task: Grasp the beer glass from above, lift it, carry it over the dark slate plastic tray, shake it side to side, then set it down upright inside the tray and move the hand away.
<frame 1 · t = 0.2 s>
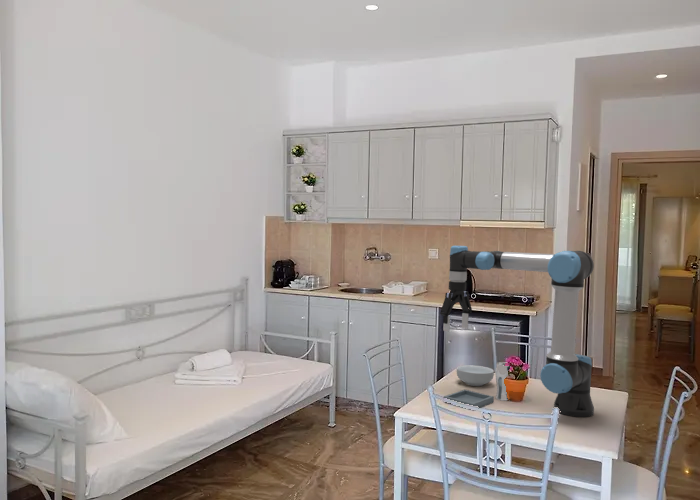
hand: (455, 329, 266), 27 cm above the table, tool pointing down, fingers open, 13 cm apart
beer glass: (502, 399, 259), on the table
tray: (468, 402, 252), on the table
cereal bowl: (474, 384, 282), on the table
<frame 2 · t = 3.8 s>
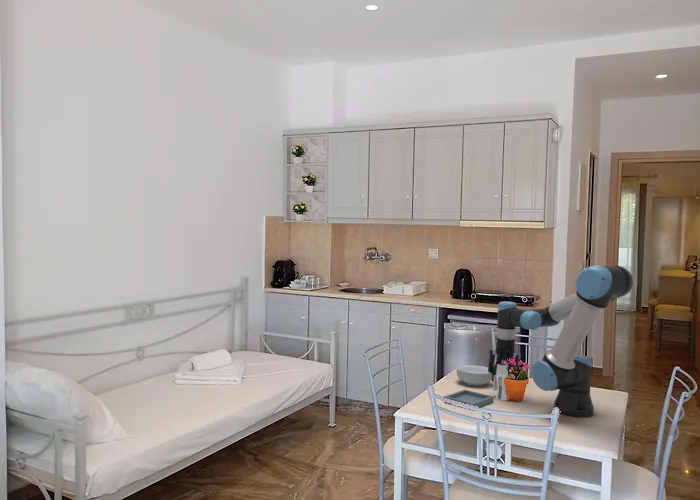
hand: (503, 391, 259), 3 cm above the table, tool pointing down, fingers closed on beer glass, 7 cm apart
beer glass: (502, 399, 259), on the table, touching gripper
everything else where it was.
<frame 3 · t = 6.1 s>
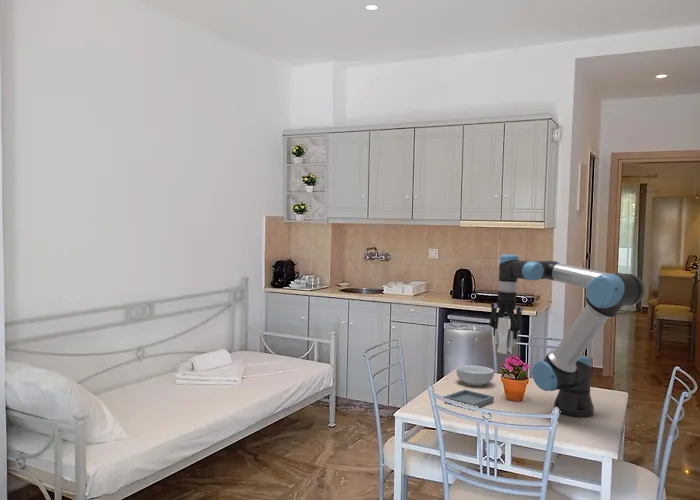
hand: (504, 345, 258), 23 cm above the table, tool pointing down, fingers closed on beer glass, 7 cm apart
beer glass: (504, 352, 258), point 20 cm above the table, touching gripper
everything else where it was.
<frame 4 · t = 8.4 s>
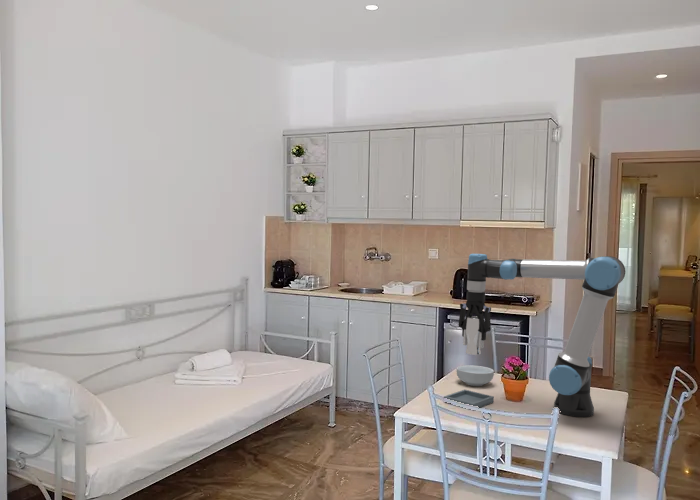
hand: (473, 346, 252), 23 cm above the table, tool pointing down, fingers closed on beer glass, 7 cm apart
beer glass: (473, 353, 253), point 20 cm above the table, touching gripper
everything else where it was.
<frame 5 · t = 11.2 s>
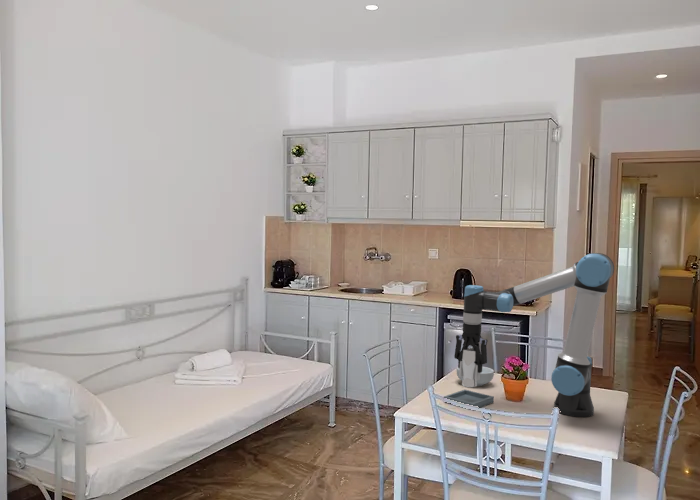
hand: (469, 378, 251), 10 cm above the table, tool pointing down, fingers closed on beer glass, 7 cm apart
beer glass: (469, 385, 252), point 7 cm above the table, touching gripper
everything else where it was.
when the fingers open (5 cm above the table, at t = 13.3 s): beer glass drops 2 cm, resting on tray.
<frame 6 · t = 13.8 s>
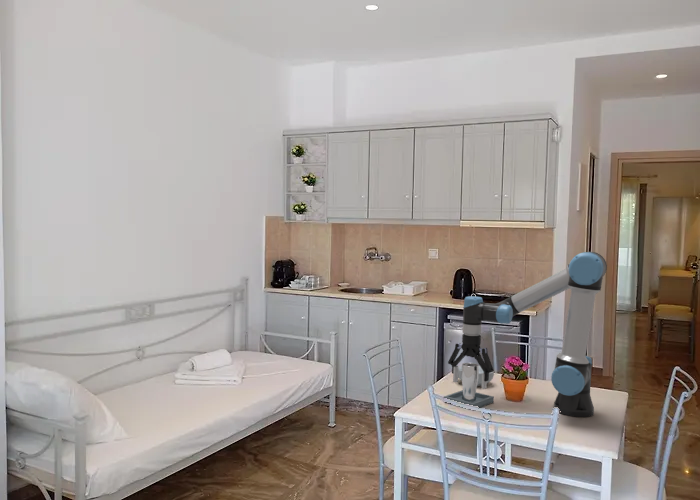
hand: (469, 385, 252), 7 cm above the table, tool pointing down, fingers open, 13 cm apart
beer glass: (468, 400, 252), point 1 cm above the table, touching tray
everything else where it was.
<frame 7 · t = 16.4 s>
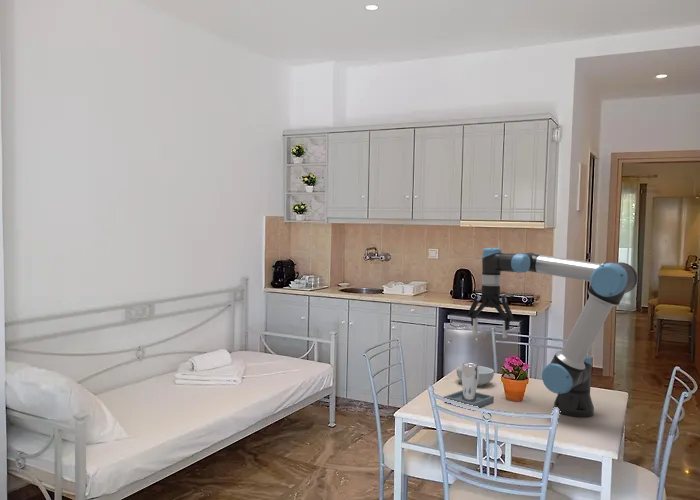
hand: (489, 335, 254), 27 cm above the table, tool pointing down, fingers open, 13 cm apart
nothing on the table moved.
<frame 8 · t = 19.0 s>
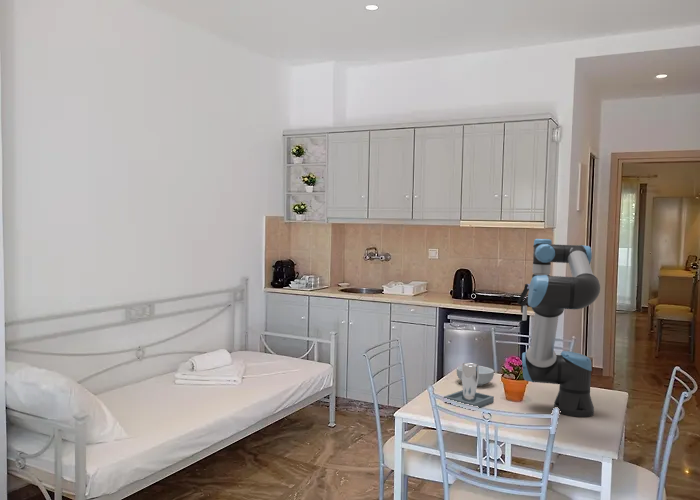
hand: (538, 322, 267), 32 cm above the table, tool pointing down, fingers open, 13 cm apart
nothing on the table moved.
at the end: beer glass inside the target area on the tray (0.1 cm from its centre), point 0.6 cm above the tray's base; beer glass tilted 0°; the gripper is holding nothing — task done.
